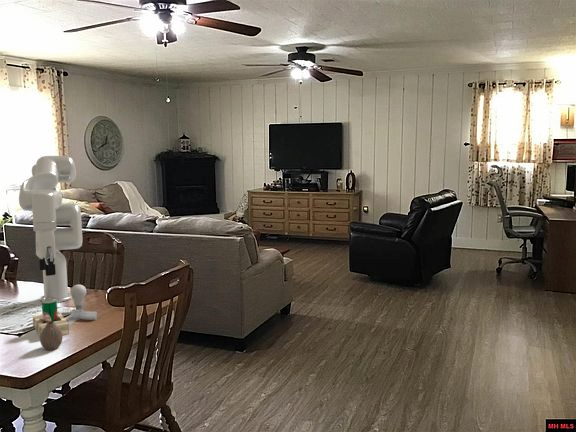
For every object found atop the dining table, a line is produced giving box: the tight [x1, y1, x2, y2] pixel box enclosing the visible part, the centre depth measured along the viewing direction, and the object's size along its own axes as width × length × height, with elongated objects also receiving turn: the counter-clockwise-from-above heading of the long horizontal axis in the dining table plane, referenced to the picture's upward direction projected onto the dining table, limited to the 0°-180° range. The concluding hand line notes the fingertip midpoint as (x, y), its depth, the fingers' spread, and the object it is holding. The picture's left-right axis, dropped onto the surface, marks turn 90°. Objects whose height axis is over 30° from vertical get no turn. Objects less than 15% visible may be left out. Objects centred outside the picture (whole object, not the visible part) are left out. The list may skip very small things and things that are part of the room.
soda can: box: [41, 297, 59, 324], centre depth 187 cm, size 5×5×12 cm
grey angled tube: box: [65, 308, 98, 326], centre depth 199 cm, size 8×12×3 cm
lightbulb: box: [69, 284, 87, 310], centre depth 210 cm, size 6×6×11 cm
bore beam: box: [32, 311, 70, 336], centre depth 188 cm, size 16×9×4 cm, turn 37°
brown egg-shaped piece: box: [39, 322, 64, 351], centre depth 171 cm, size 7×7×9 cm
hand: (47, 272), depth 185 cm, fingers open, 9 cm apart
